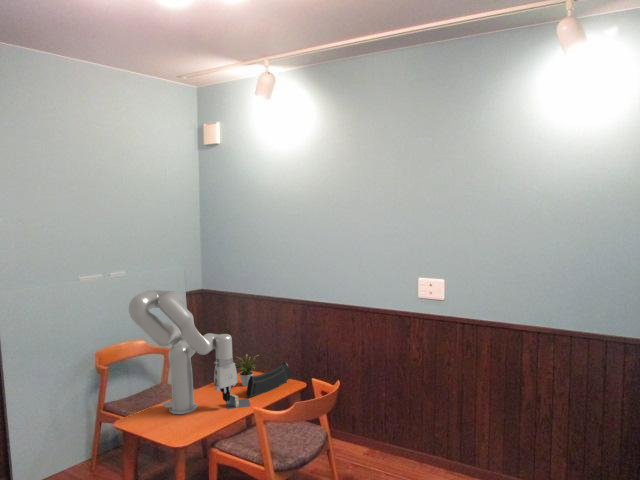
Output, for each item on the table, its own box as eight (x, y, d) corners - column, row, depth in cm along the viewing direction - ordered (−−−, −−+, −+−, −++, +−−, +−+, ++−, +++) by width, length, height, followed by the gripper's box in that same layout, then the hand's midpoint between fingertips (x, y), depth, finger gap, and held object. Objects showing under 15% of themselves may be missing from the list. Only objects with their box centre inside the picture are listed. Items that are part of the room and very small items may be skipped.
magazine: (246, 382, 236) (285, 350, 258) (241, 381, 238) (281, 349, 260) (254, 412, 241) (293, 378, 263) (250, 411, 243) (288, 377, 265)
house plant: (253, 377, 269) (251, 348, 268) (267, 384, 259) (265, 353, 258) (230, 384, 260) (228, 353, 259) (243, 391, 250) (242, 359, 249)
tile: (235, 407, 228) (235, 397, 228) (229, 404, 232) (228, 394, 231) (238, 406, 229) (238, 396, 229) (232, 403, 233) (232, 393, 232)
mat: (227, 409, 226) (227, 409, 226) (225, 401, 236) (225, 401, 236) (251, 406, 229) (250, 406, 229) (248, 398, 239) (248, 398, 239)
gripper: (215, 367, 218) (217, 407, 219) (242, 359, 229) (244, 397, 230) (206, 363, 223) (208, 403, 225) (233, 356, 234) (235, 393, 235)
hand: (226, 400), depth 227 cm, fingers closed
